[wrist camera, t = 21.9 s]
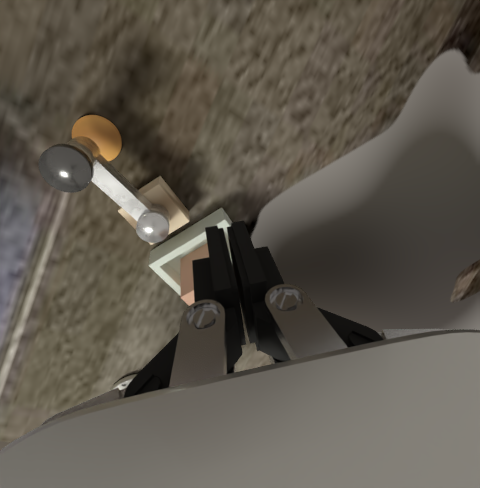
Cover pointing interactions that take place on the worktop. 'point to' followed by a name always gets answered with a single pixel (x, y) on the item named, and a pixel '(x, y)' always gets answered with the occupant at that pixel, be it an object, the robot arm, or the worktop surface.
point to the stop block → (190, 273)
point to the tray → (185, 247)
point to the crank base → (110, 148)
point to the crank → (102, 184)
